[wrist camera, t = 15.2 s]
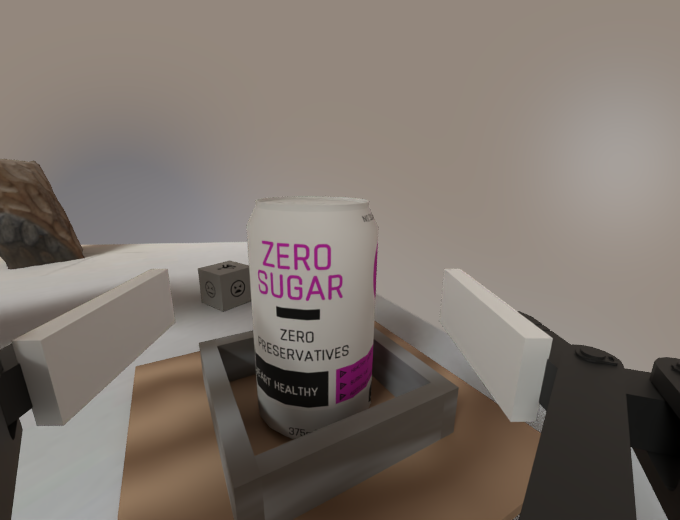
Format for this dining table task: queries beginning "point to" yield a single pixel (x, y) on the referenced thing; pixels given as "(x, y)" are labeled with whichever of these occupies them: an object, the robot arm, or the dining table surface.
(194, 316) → the dining table surface
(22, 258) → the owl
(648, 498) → the dining table surface
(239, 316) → the dining table surface
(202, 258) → the dining table surface
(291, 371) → the supplement can
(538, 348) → the robot arm
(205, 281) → the dice cube
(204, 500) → the collar board
